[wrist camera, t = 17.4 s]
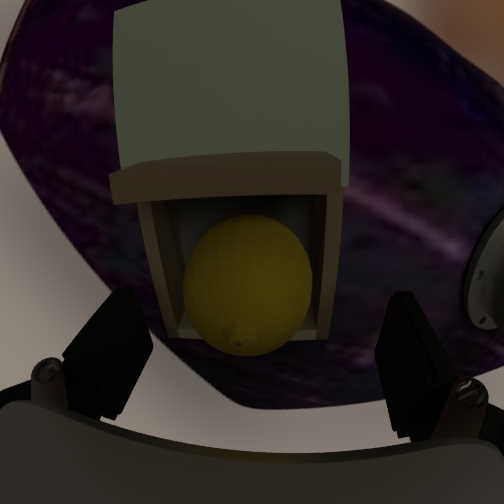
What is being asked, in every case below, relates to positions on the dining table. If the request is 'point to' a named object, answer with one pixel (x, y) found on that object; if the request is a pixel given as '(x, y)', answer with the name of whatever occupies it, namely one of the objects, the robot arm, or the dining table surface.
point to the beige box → (220, 208)
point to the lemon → (247, 285)
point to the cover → (230, 99)
